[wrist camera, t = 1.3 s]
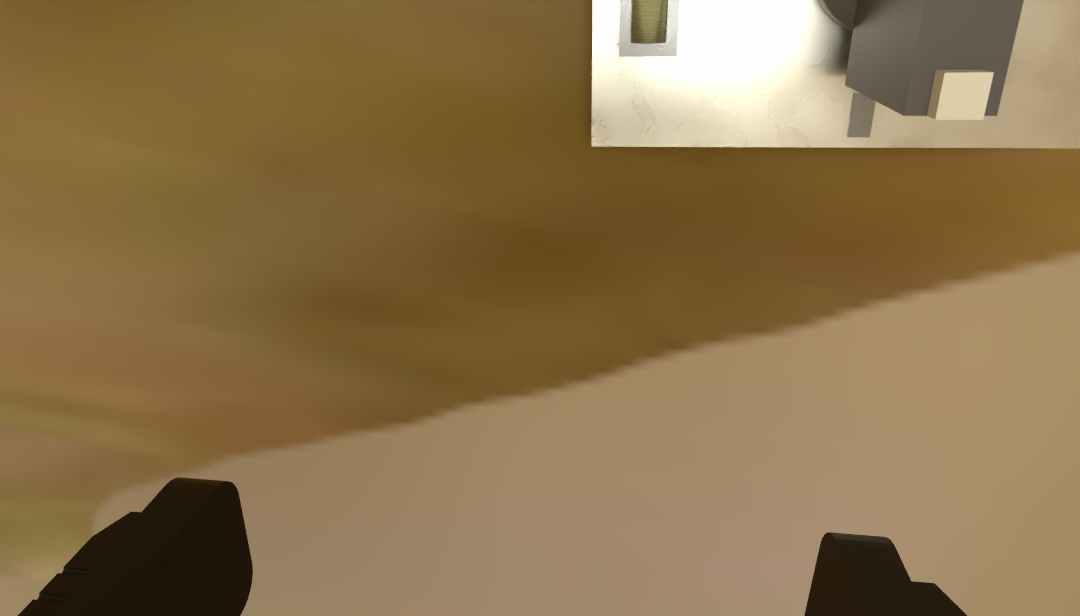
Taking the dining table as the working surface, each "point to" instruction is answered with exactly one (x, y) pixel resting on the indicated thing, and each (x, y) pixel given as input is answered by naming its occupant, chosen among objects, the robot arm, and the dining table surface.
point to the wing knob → (929, 53)
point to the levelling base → (803, 80)
